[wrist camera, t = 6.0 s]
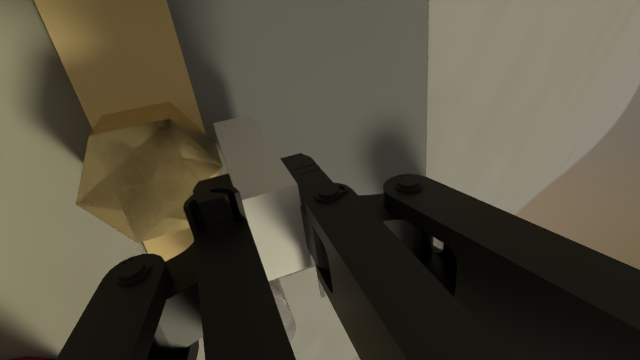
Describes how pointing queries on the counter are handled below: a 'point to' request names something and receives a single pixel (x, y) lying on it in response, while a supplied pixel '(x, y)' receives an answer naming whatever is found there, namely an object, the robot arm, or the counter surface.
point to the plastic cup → (32, 359)
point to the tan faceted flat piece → (145, 169)
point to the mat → (262, 76)
